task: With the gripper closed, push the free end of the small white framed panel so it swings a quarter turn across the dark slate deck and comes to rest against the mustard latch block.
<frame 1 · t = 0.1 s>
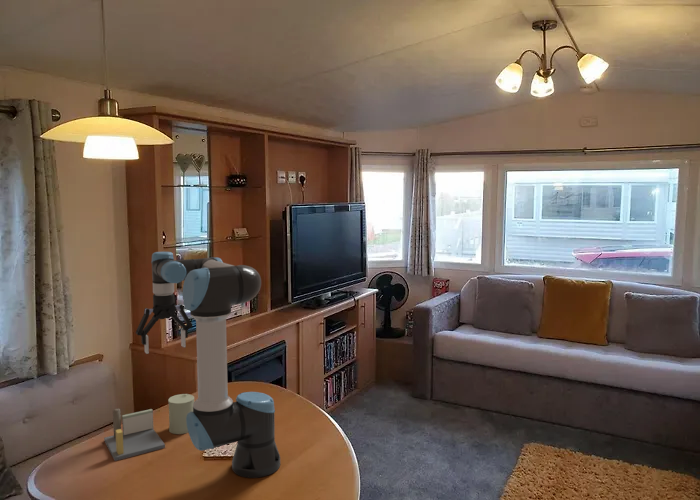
hand: (165, 349, 200), 28 cm above the table, fingers open, 13 cm apart
can: (182, 429, 197), on the table
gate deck: (134, 444, 185), on the table
white framed panel: (138, 421, 191), point 5 cm above the table, hinge at 90.0°
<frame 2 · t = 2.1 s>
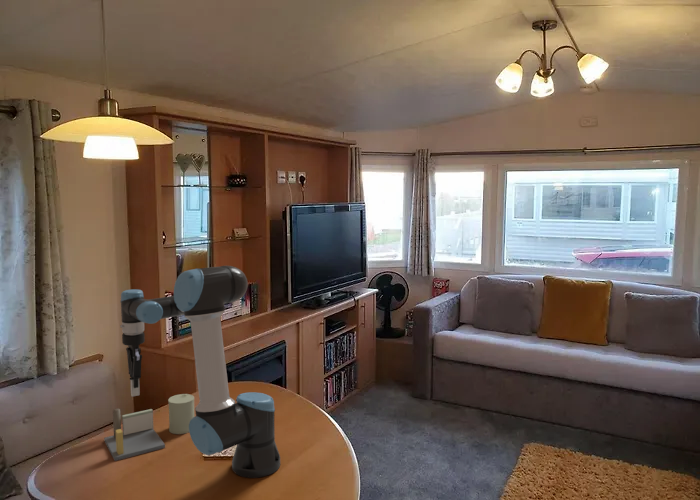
hand: (135, 395, 197), 12 cm above the table, fingers closed
nothing on the table moved.
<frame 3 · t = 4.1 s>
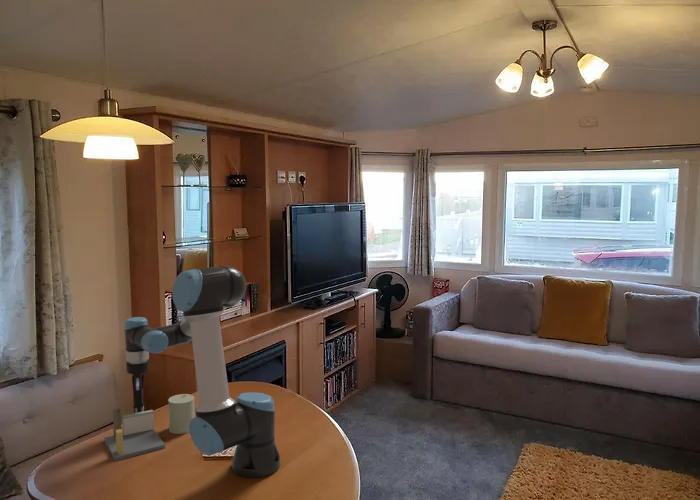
hand: (140, 423, 195), 3 cm above the table, fingers closed
white framed panel: (138, 422, 191), point 5 cm above the table, hinge at 85.6°, touching gripper
everything else where it was.
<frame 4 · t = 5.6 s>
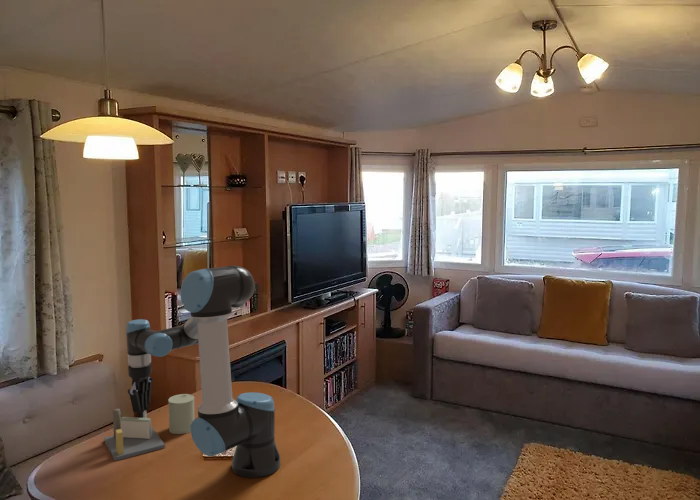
hand: (142, 428, 190), 3 cm above the table, fingers closed
white framed panel: (136, 427, 187), point 5 cm above the table, hinge at 49.1°, touching gripper
everything else where it was.
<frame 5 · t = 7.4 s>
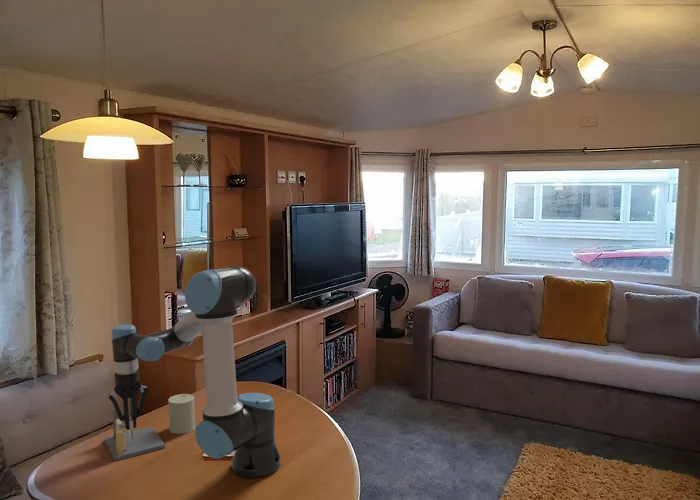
hand: (131, 437, 183), 3 cm above the table, fingers closed
white framed panel: (121, 434, 182), point 5 cm above the table, hinge at -1.2°, touching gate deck, gripper
everything else where it was.
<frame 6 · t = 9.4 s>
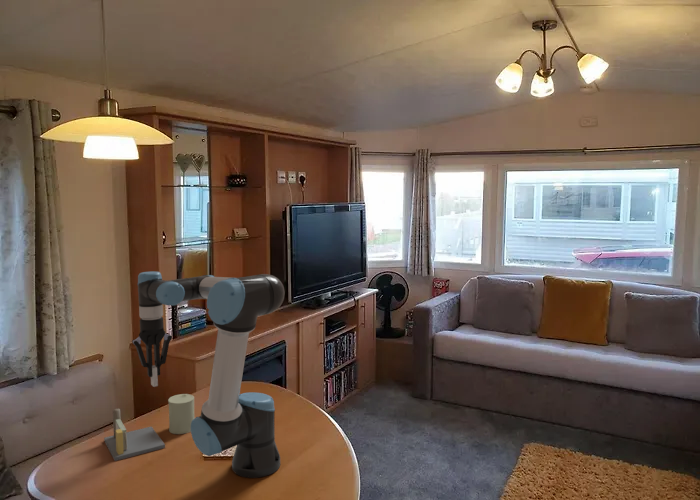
hand: (154, 385, 184), 21 cm above the table, fingers closed
white framed panel: (121, 434, 182), point 5 cm above the table, hinge at -1.2°, touching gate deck
everything else where it was.
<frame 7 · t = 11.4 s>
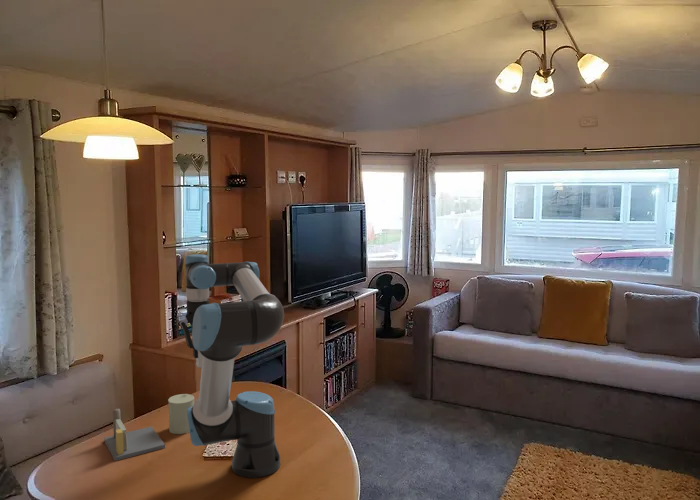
hand: (199, 366, 186), 26 cm above the table, fingers closed
nothing on the table moved.
at the end: white framed panel at -1° (first picture: +90°) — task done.
